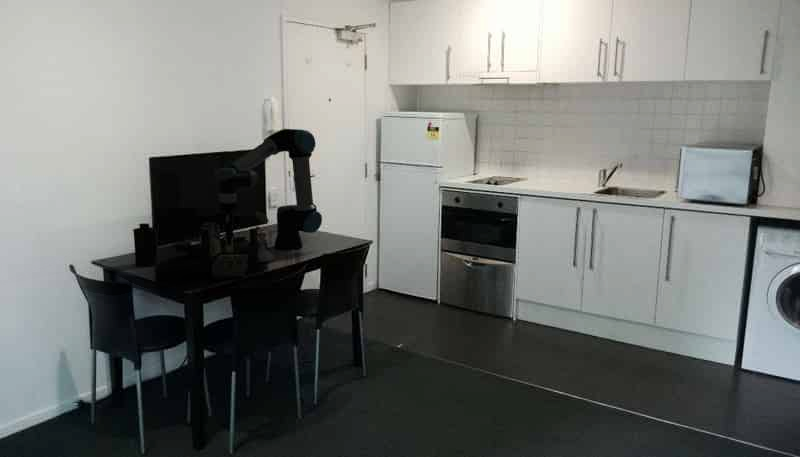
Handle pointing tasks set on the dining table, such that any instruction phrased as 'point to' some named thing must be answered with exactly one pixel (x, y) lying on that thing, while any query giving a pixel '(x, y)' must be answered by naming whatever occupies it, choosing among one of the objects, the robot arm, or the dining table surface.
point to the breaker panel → (229, 266)
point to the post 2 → (254, 249)
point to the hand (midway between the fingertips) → (230, 251)
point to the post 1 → (205, 250)
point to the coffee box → (213, 237)
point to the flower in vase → (263, 240)
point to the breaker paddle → (230, 258)
